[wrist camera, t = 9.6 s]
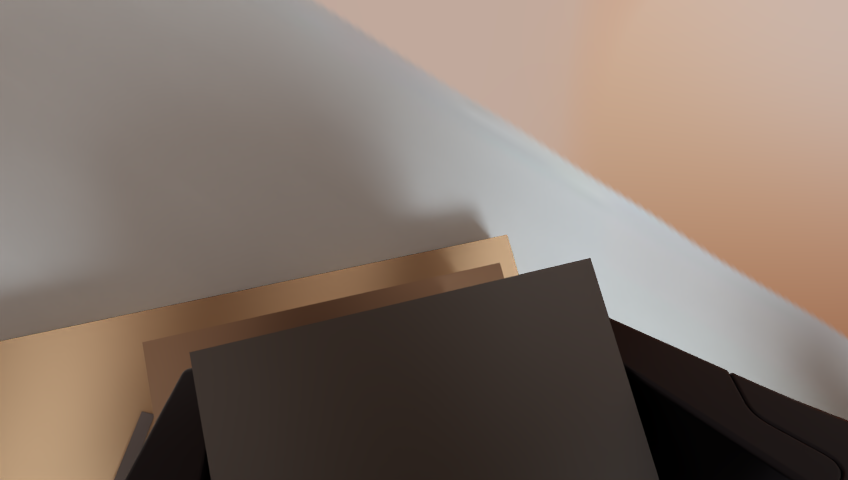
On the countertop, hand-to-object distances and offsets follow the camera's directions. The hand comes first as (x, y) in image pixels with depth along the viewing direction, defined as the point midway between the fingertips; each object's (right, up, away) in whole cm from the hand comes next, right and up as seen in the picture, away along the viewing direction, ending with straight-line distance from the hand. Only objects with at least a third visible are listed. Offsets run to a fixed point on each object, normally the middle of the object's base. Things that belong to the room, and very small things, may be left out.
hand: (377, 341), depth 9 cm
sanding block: (-1, -3, +5) cm, 6 cm away
